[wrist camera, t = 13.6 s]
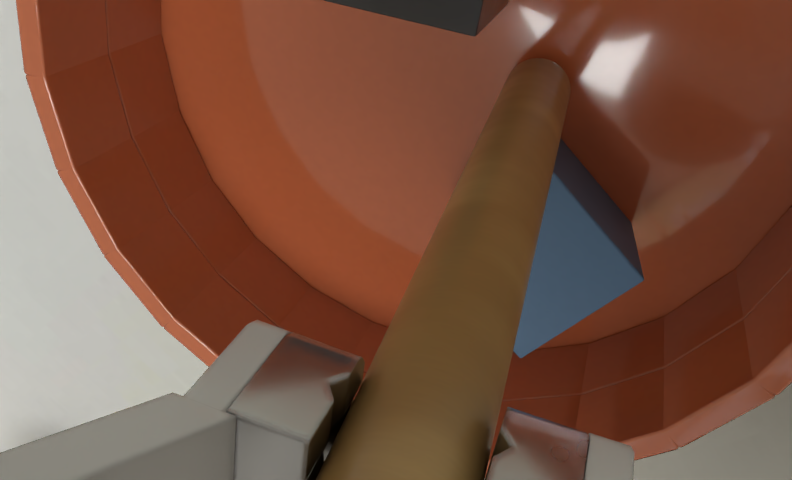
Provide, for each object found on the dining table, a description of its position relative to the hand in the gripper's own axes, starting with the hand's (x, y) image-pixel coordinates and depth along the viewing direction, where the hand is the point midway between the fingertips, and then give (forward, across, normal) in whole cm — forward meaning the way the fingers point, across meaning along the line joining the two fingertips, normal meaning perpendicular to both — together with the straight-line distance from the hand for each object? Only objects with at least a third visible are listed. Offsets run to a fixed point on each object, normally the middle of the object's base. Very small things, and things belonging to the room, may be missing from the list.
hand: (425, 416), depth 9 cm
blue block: (+14, 0, +4) cm, 14 cm away
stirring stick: (+13, +1, 0) cm, 13 cm away
